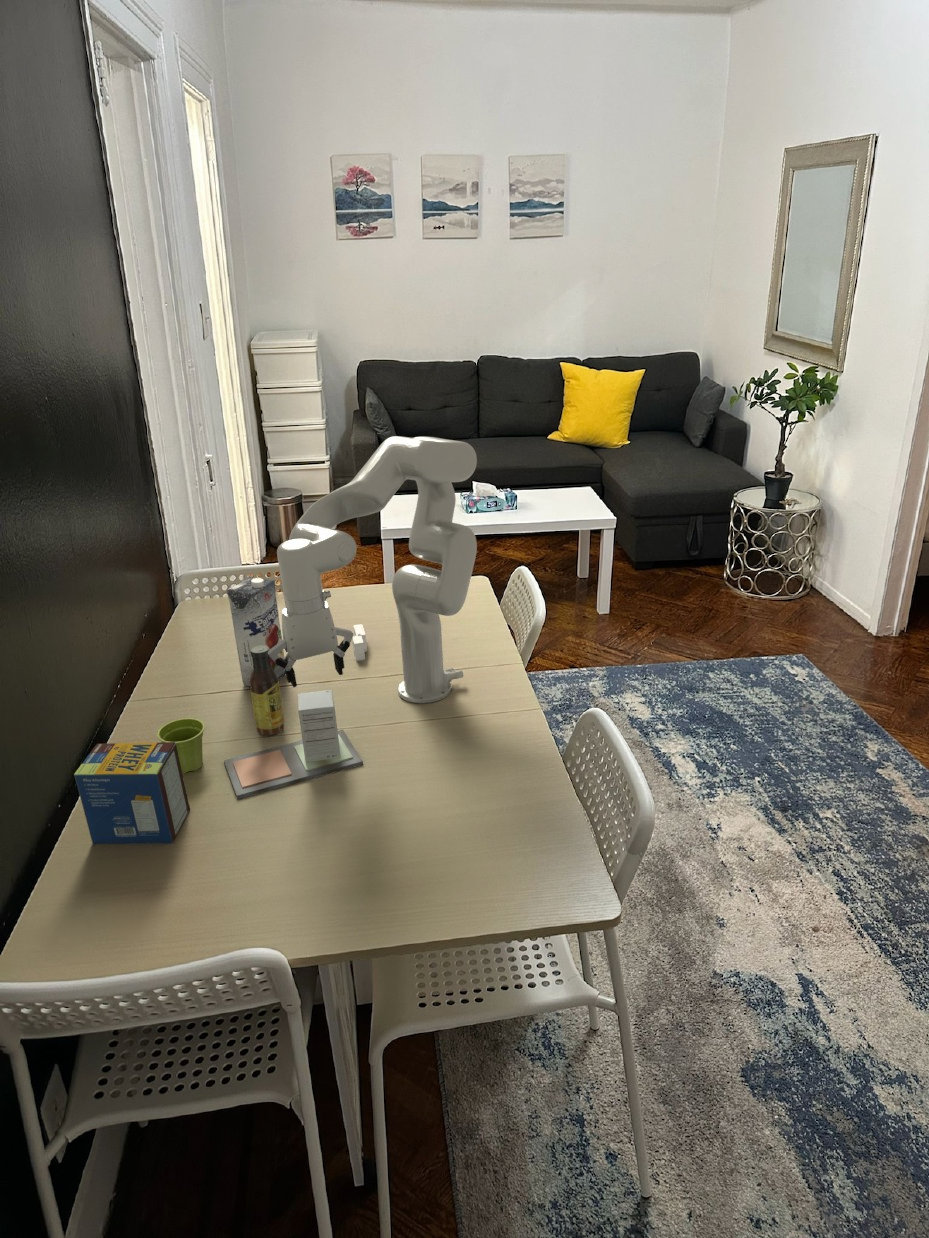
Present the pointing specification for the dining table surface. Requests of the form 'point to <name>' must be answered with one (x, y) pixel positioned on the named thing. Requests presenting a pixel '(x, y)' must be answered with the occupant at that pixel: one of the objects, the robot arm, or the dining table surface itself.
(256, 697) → the sauce bottle
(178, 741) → the plant pot
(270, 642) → the juice carton
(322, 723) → the supplement box
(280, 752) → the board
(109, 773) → the protein box
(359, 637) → the napkin holder
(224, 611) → the dining table surface
